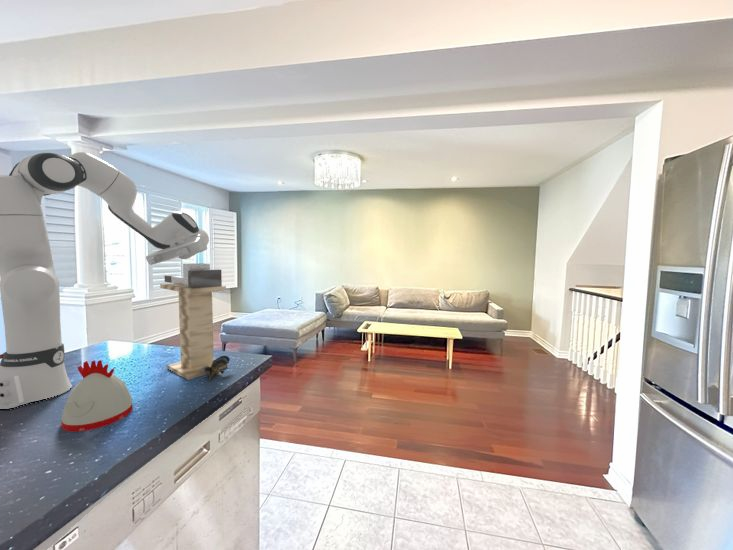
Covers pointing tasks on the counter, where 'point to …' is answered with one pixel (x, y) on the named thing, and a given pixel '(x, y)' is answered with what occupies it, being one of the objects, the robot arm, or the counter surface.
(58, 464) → the counter surface
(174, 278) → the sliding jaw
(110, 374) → the kitchen timer
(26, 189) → the robot arm
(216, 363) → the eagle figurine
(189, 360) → the shelf
